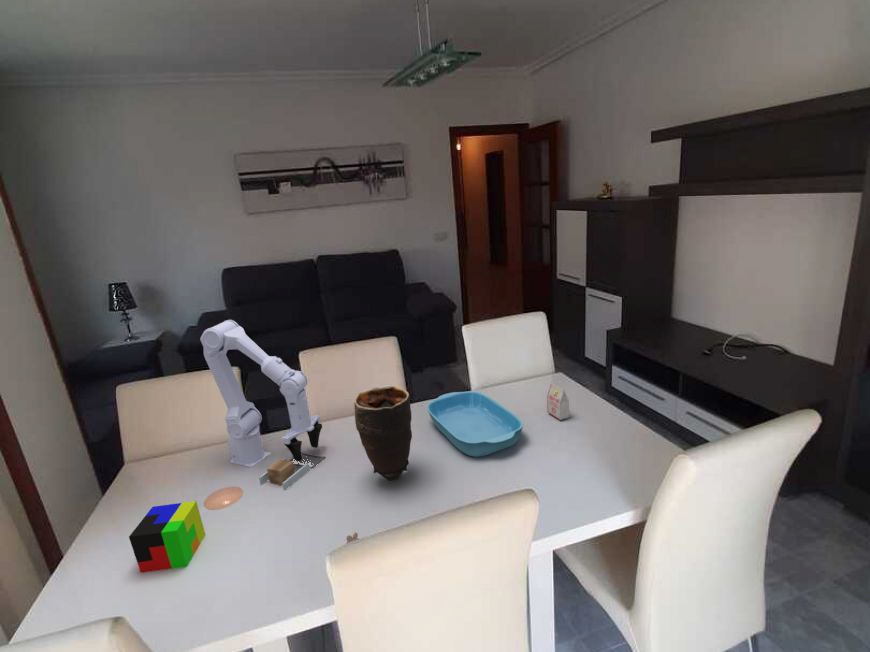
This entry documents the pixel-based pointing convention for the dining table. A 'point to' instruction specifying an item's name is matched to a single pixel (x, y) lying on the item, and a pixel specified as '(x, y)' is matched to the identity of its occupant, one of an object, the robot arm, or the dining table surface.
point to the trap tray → (313, 459)
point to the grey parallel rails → (290, 479)
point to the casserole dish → (475, 422)
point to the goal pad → (223, 498)
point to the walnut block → (280, 471)
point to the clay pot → (385, 428)
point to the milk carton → (557, 402)
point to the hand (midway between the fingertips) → (306, 453)
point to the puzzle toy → (167, 536)
